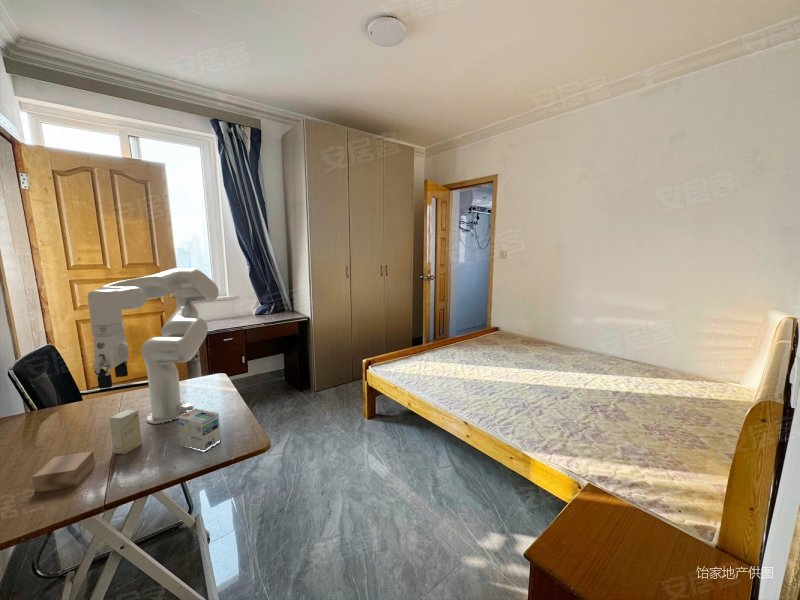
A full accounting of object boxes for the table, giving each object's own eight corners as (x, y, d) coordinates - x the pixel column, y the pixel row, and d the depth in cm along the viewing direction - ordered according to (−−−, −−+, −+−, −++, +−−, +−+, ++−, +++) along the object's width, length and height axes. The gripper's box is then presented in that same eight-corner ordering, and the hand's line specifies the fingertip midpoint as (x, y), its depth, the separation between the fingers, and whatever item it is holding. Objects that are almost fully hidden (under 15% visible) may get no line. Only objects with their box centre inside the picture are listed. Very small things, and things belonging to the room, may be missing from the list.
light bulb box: (221, 442, 113) (219, 412, 111) (204, 453, 106) (201, 422, 105) (198, 436, 116) (195, 407, 114) (179, 447, 110) (177, 416, 108)
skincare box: (124, 454, 105) (120, 418, 103) (112, 453, 106) (108, 417, 104) (142, 443, 111) (139, 409, 110) (131, 442, 112) (127, 408, 110)
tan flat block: (95, 466, 100) (93, 451, 99) (77, 486, 92) (75, 469, 91) (56, 472, 97) (54, 456, 96) (35, 493, 89) (32, 476, 88)
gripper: (107, 334, 96) (113, 391, 98) (135, 322, 112) (140, 371, 115) (75, 336, 94) (82, 394, 96) (108, 324, 110) (114, 373, 113)
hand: (114, 381), depth 106 cm, fingers open, 9 cm apart
